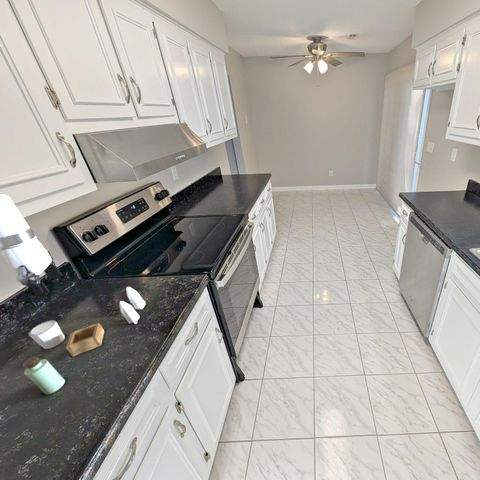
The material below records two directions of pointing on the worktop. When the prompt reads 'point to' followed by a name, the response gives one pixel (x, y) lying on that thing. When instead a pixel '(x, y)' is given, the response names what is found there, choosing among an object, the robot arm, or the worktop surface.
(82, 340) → the box
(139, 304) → the shaker set
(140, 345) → the worktop surface
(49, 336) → the white cup
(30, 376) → the bottle
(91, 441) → the worktop surface
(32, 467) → the worktop surface
